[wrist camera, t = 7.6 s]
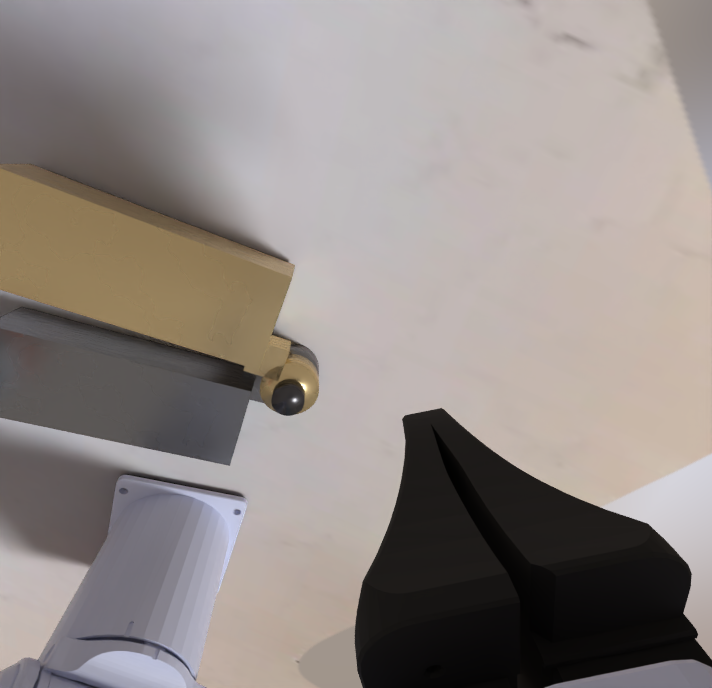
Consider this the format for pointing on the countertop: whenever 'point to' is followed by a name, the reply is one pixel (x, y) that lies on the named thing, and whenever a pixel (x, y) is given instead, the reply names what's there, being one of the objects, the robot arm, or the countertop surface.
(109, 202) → the swing leaf
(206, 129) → the countertop surface
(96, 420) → the fixed leaf
